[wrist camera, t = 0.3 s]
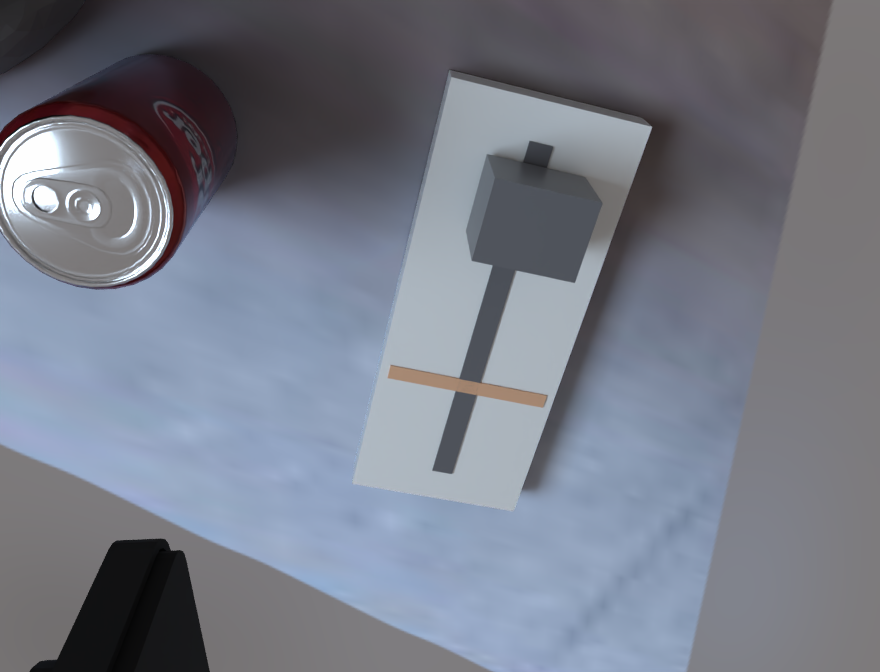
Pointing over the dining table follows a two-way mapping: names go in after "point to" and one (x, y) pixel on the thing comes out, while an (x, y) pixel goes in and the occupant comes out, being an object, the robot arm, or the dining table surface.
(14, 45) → the alarm clock
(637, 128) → the console
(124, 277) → the soda can
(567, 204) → the fader knob
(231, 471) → the dining table surface
